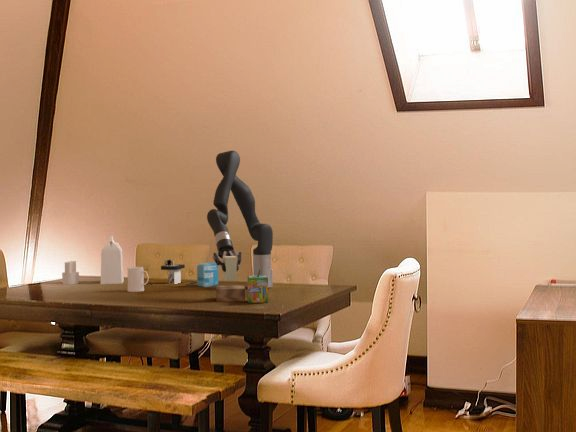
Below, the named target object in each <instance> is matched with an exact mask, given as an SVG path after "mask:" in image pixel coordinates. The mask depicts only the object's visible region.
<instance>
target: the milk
mask: <svg viewBox="0 0 576 432" xmlns="http://www.w3.org/2000/svg"><path fill="white" fill-rule="evenodd" d="M123 259H124V258H123V248H122V247H121V245H120V243H119V242H117V241H115V240H114V236H113V235H110V236H109V242H108V243H107V244H105V246H104V247H102V249H101V253H100V285H106V284H107V285H113V284H116V285H117V284H118V285H119V284H123V283H124V281H125V280H124V277H125V276H124V260H123Z"/></svg>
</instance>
